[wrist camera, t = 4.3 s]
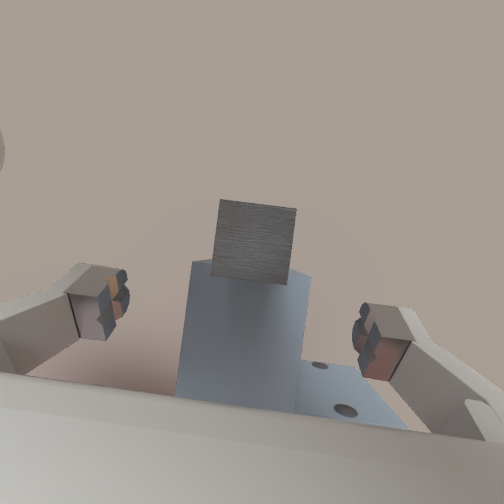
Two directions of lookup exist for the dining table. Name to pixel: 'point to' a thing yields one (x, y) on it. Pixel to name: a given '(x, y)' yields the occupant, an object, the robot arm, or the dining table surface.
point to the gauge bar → (253, 242)
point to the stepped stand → (265, 353)
